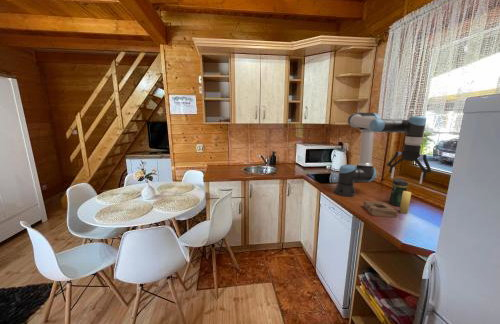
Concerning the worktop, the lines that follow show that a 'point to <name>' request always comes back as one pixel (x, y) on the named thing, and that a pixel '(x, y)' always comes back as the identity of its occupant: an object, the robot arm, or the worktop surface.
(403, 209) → the peg
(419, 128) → the robot arm
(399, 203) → the coffee jar
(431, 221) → the worktop surface
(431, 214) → the worktop surface
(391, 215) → the socket block
